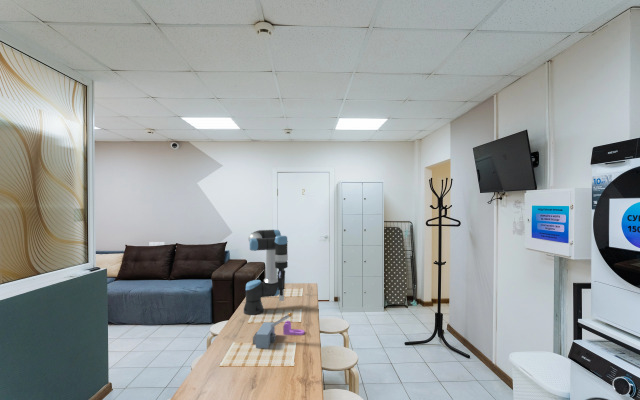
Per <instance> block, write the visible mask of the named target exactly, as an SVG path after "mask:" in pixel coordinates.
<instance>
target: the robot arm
mask: <svg viewBox="0 0 640 400" xmlns="http://www.w3.org/2000/svg"><path fill="white" fill-rule="evenodd" d="M248 242H249V250H250V251H253V252H256V251H265V252H266V254H265V258H266V259H265V263H266V264H265V278H264V279H263V281H261V280H260V279H253V280H250V281H248V282H247V283H246V284H245V303H244V307H243V314H244V315H249V316H254V315H255V316H256V315H259V314H261V313H263V312H264V306H263V305H264V304H263V303H262V298H269V297H278V300H279V301H280V302H282V301H285V289H286V287H285V284H286V283H285V282H286V280H285V279H286V270H285V269H288V267H289V265H288V257H289V255H288V242H289V241H288V236H287V235H282V234H281V231H280V230H279V229H259V230H255V231H253V232H251V233H250V234H249V236H248Z"/></svg>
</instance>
